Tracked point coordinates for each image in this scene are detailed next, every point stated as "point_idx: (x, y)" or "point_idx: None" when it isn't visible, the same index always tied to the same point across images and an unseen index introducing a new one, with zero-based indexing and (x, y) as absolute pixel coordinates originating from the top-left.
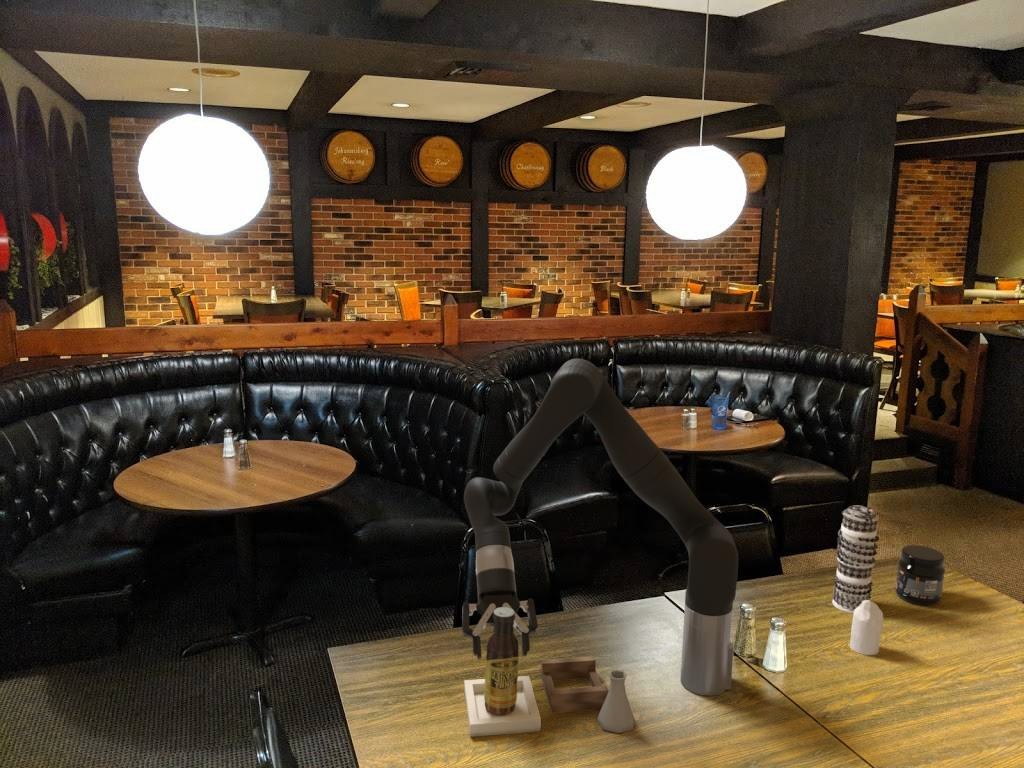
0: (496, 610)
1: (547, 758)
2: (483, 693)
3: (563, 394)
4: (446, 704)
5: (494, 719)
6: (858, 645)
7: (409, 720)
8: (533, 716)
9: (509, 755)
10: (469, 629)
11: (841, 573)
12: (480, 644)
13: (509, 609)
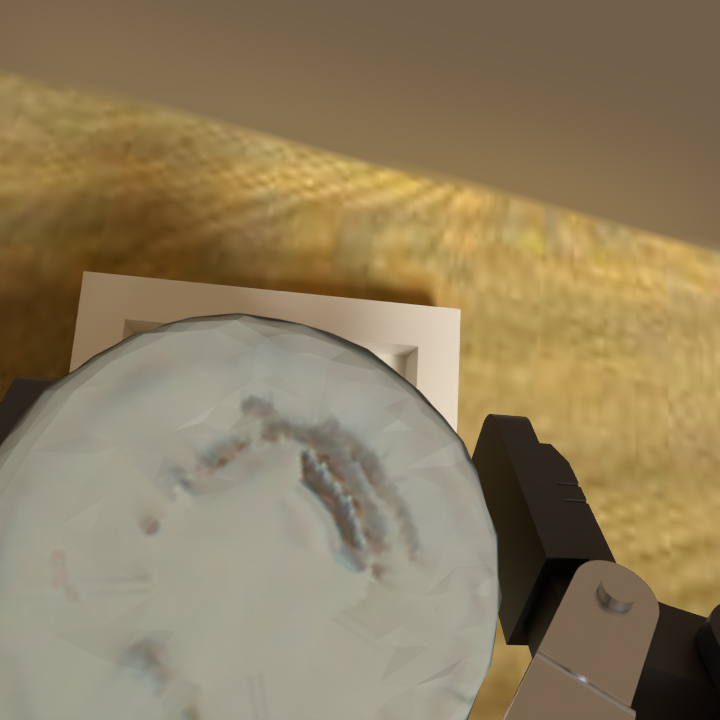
0: (425, 669)
1: (126, 108)
2: None
3: None
4: None
5: (333, 323)
6: None
7: (697, 500)
8: (118, 300)
9: (290, 168)
10: (701, 673)
11: None
12: (523, 486)
13: (58, 699)
